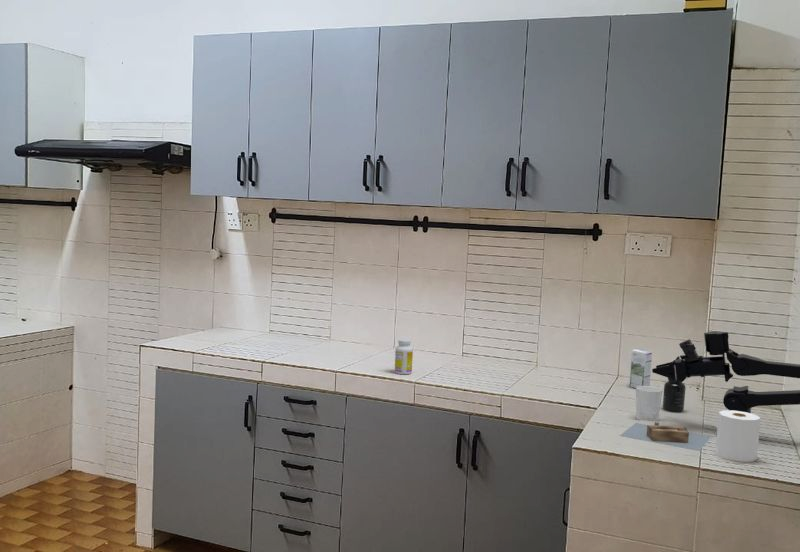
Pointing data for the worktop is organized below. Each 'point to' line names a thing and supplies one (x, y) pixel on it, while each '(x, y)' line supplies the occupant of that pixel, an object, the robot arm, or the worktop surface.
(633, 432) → the grey board
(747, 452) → the toilet paper
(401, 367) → the supplement bottle
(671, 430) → the brown wooden block
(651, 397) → the white cup
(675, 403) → the supplement bottle
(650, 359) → the syrup box
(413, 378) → the worktop surface
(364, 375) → the worktop surface
